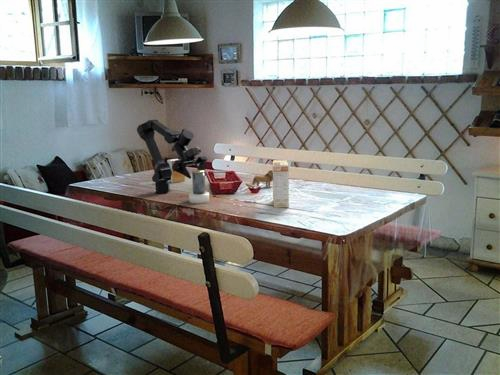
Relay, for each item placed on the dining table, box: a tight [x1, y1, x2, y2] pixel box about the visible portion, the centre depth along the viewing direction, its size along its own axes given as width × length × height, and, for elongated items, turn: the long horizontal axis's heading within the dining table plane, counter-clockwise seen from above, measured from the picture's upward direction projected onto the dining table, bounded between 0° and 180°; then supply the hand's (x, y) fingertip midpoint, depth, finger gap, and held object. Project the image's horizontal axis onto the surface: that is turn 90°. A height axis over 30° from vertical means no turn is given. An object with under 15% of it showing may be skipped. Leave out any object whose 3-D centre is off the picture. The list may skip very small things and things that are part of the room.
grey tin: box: [191, 169, 206, 194], centre depth 239 cm, size 6×6×11 cm
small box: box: [166, 158, 186, 184], centre depth 289 cm, size 8×6×13 cm
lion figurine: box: [251, 169, 273, 189], centre depth 268 cm, size 15×5×9 cm, turn 118°
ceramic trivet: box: [188, 190, 211, 204], centre depth 240 cm, size 10×10×4 cm
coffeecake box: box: [272, 159, 290, 208], centre depth 229 cm, size 15×7×20 cm, turn 178°
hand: (198, 176), depth 238 cm, fingers open, 9 cm apart
